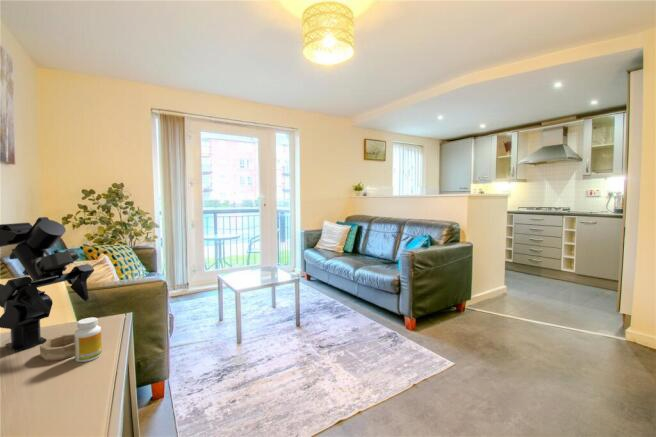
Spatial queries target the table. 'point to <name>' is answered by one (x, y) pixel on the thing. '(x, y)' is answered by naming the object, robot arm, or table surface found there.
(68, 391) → the table surface
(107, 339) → the table surface
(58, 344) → the can holder
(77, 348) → the supplement bottle
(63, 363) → the table surface
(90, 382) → the table surface
